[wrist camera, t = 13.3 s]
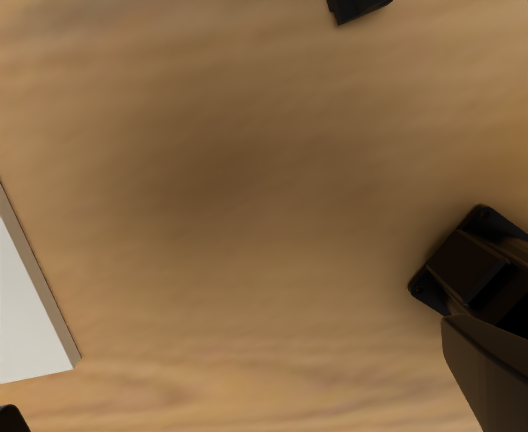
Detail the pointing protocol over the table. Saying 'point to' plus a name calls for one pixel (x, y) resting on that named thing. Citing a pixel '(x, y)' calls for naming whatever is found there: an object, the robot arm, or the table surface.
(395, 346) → the table surface
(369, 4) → the security camera
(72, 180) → the table surface
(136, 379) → the table surface
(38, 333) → the plate
